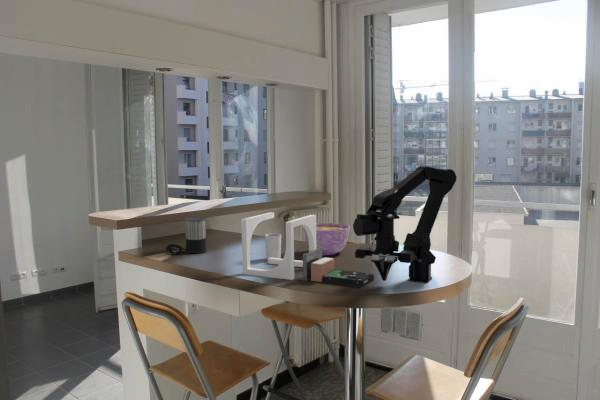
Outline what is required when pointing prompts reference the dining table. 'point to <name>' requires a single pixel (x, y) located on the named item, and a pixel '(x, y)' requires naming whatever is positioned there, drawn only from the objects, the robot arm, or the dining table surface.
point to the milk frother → (192, 237)
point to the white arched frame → (287, 263)
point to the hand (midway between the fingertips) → (384, 280)
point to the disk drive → (348, 278)
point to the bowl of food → (330, 237)
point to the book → (321, 268)
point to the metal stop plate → (309, 263)
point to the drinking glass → (273, 245)
